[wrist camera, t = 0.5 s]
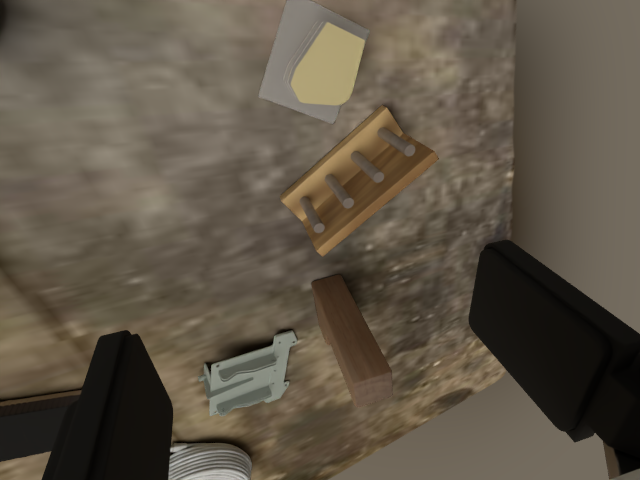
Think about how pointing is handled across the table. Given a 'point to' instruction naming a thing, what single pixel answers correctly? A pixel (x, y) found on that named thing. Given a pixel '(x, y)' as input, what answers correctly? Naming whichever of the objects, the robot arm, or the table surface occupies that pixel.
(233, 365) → the metal bracket
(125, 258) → the table surface
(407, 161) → the peg rack
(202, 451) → the cable
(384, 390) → the wooden block
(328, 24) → the stacked layers on plate
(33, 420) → the black sponge
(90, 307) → the table surface
